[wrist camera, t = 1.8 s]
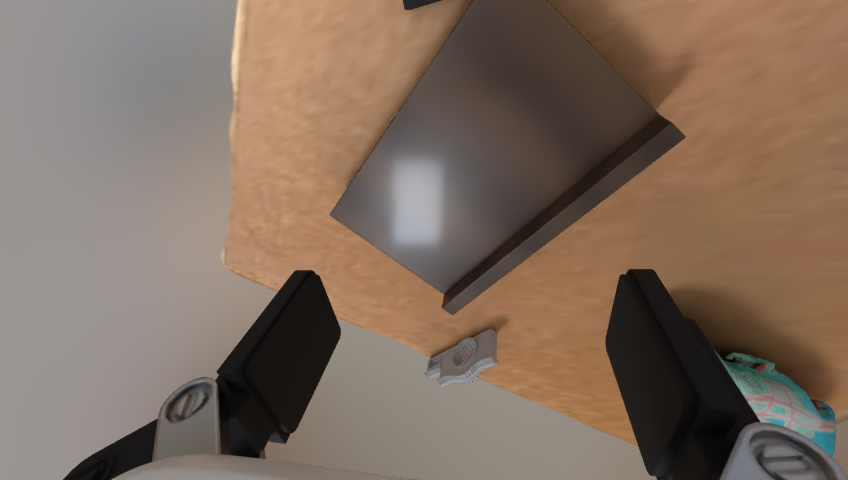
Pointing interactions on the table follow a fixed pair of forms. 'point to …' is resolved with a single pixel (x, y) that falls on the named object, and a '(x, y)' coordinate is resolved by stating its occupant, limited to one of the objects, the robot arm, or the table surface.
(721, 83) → the table surface
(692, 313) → the table surface
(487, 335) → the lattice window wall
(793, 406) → the athletic shoe
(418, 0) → the tall beige carton
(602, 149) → the shelf
